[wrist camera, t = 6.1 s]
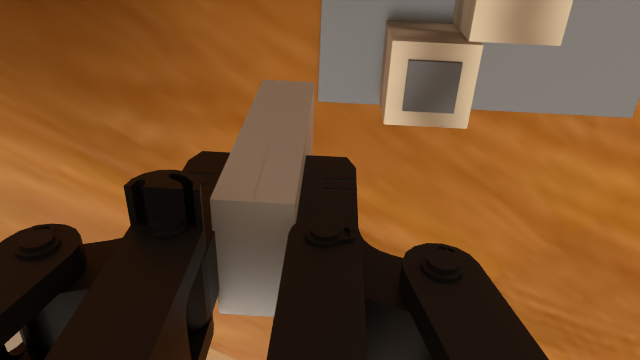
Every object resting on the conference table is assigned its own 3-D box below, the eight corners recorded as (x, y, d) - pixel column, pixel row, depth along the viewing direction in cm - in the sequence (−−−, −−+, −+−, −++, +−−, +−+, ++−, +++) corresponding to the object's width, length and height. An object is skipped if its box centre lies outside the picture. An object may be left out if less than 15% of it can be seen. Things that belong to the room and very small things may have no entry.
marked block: (378, 98, 42) (383, 129, 36) (386, 20, 38) (392, 41, 33) (450, 102, 41) (467, 134, 36) (464, 24, 38) (484, 46, 33)
